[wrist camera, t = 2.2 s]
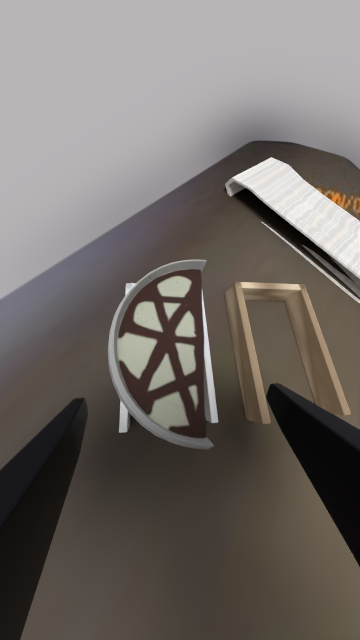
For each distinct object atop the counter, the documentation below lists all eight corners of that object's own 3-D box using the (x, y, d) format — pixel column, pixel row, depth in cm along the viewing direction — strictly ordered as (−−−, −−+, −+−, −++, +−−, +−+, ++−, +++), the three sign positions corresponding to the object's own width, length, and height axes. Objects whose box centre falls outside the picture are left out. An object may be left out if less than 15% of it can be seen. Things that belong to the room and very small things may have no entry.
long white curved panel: (460, 352, 23) (229, 170, 30) (419, 358, 26) (220, 193, 33) (473, 297, 27) (270, 150, 34) (436, 308, 31) (258, 173, 38)
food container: (130, 306, 22) (118, 242, 12) (182, 310, 22) (206, 254, 13) (114, 425, 17) (76, 464, 8) (179, 425, 18) (214, 460, 9)
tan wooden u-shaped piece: (287, 296, 26) (304, 284, 23) (324, 411, 21) (351, 414, 18) (224, 294, 24) (234, 281, 22) (246, 419, 19) (262, 424, 16)
